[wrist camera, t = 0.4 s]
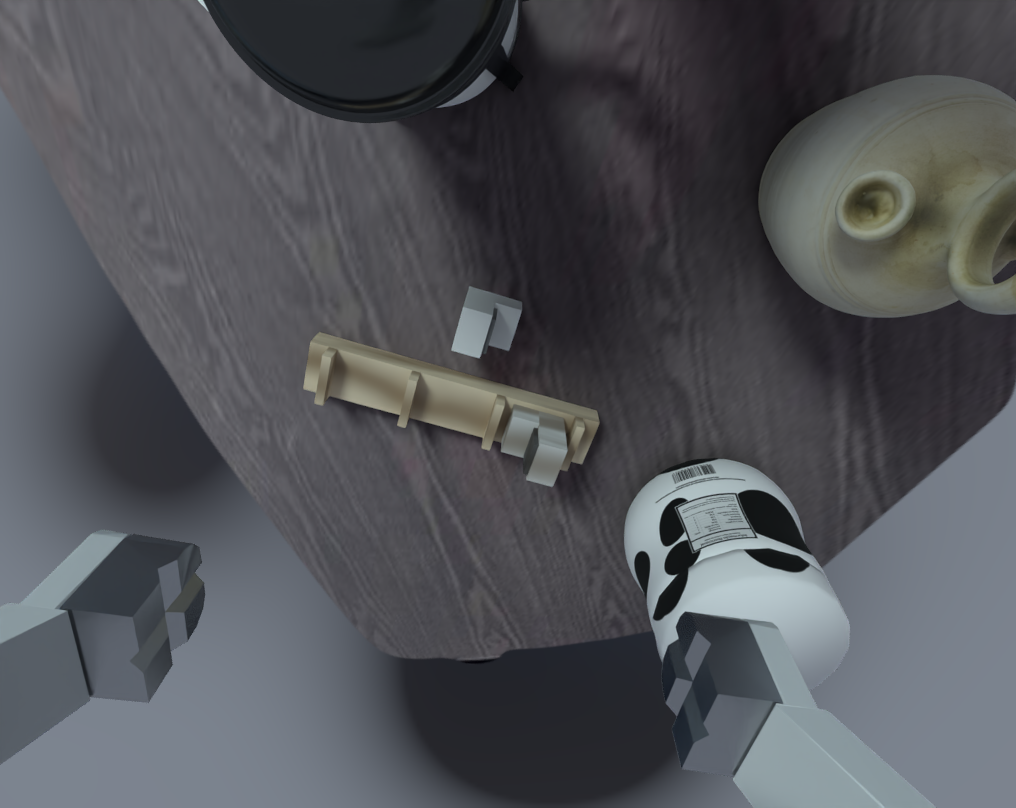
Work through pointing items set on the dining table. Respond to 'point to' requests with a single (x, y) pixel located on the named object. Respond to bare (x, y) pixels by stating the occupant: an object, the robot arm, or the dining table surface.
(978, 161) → the jug
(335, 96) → the coffee press
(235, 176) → the dining table surface
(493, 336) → the grey block
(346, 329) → the dining table surface
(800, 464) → the dining table surface
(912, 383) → the dining table surface
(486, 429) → the rail
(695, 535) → the milk container
